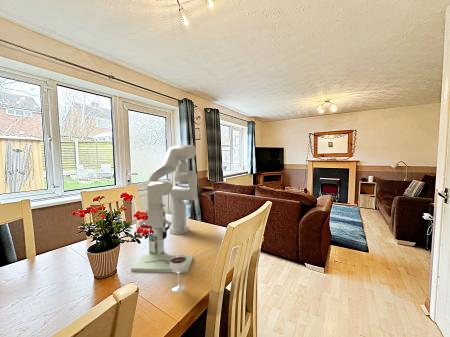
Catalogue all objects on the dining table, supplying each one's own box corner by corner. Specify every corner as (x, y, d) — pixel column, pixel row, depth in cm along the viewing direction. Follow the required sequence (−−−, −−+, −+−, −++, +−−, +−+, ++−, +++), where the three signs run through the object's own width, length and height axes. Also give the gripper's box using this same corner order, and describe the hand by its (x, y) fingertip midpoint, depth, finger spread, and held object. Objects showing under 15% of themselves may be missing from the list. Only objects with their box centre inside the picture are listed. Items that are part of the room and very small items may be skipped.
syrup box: (148, 254, 104) (147, 227, 103) (157, 249, 109) (156, 224, 108) (156, 256, 101) (155, 229, 100) (164, 251, 107) (163, 225, 106)
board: (143, 257, 101) (143, 254, 101) (193, 258, 99) (193, 255, 99) (131, 271, 89) (131, 267, 89) (187, 272, 88) (187, 269, 87)
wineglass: (174, 296, 73) (173, 265, 72) (167, 286, 78) (166, 258, 77) (190, 289, 77) (190, 260, 76) (183, 280, 82) (182, 252, 81)
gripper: (173, 205, 107) (173, 235, 107) (142, 204, 107) (143, 235, 108) (168, 208, 99) (169, 241, 100) (135, 208, 100) (136, 240, 101)
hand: (155, 238), depth 104 cm, fingers open, 9 cm apart
